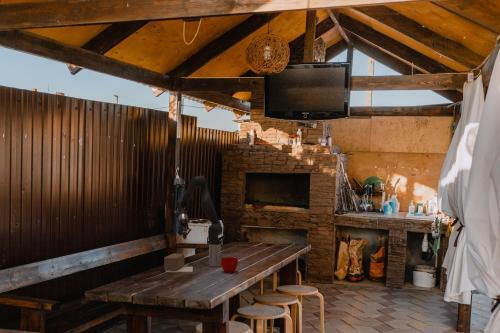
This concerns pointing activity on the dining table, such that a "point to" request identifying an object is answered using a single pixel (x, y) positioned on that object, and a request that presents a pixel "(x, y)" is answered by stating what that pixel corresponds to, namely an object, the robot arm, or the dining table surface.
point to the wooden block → (174, 262)
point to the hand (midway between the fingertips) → (185, 238)
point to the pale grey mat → (183, 269)
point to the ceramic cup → (229, 264)
